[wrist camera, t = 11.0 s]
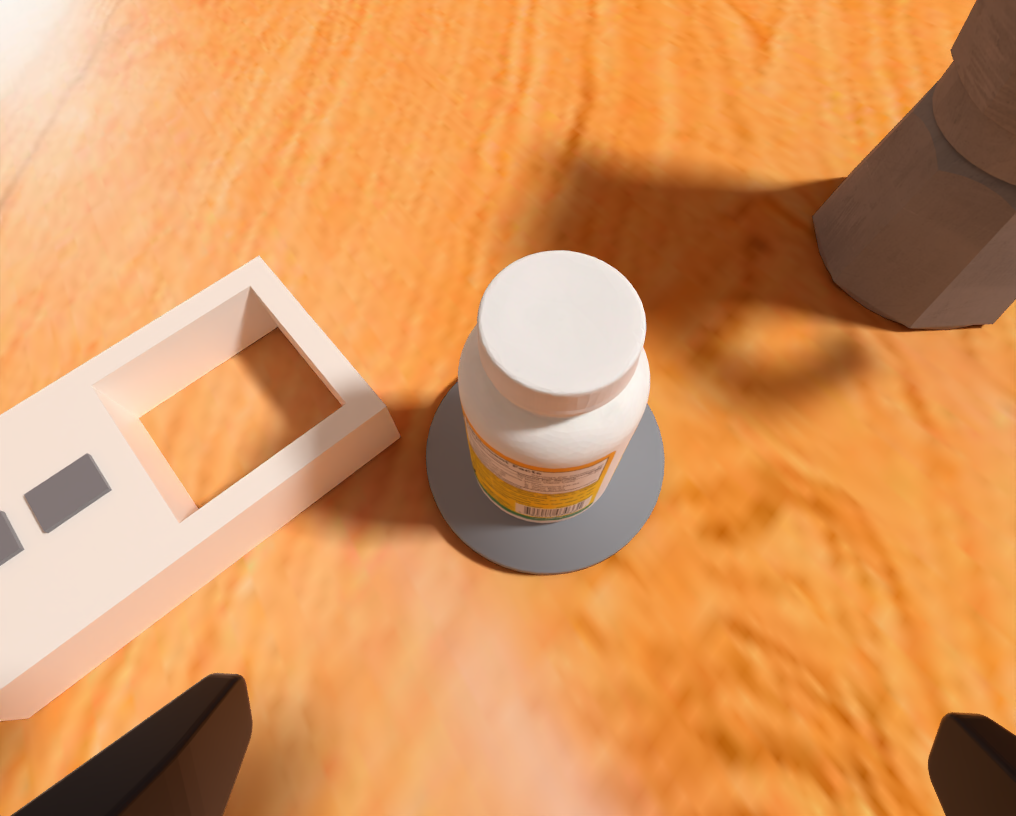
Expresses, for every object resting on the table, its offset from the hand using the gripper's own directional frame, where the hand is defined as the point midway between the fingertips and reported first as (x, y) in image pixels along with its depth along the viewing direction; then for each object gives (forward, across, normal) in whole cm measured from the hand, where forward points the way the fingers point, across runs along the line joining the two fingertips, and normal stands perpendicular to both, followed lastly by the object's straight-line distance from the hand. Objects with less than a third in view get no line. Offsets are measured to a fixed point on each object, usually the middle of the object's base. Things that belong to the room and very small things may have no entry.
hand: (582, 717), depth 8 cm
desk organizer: (+14, +14, +4) cm, 21 cm away
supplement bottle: (+15, 0, +3) cm, 15 cm away
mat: (+16, 0, +3) cm, 16 cm away
